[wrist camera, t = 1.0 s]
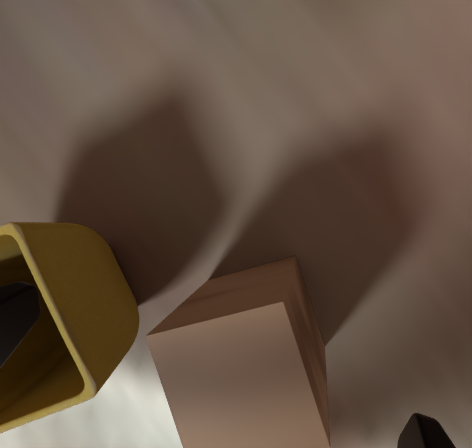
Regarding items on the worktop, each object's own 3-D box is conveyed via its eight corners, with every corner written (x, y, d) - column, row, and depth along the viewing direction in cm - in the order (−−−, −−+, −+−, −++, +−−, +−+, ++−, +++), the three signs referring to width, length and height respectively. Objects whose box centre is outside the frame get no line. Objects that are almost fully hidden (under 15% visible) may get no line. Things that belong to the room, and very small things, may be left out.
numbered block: (326, 353, 23) (333, 458, 14) (237, 371, 24) (193, 478, 15) (295, 255, 22) (283, 301, 14) (207, 280, 24) (145, 335, 15)
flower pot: (174, 322, 25) (98, 399, 16) (75, 363, 27) (-41, 450, 18) (119, 205, 25) (11, 218, 16) (24, 255, 27) (-117, 291, 18)
